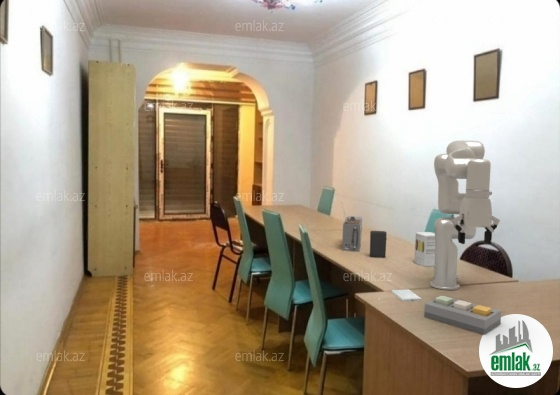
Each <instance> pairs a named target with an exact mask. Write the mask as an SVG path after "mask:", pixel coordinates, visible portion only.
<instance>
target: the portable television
mask: <svg viewBox="0 0 560 395" xmlns="http://www.w3.org/2000/svg"><path fill="white" fill-rule="evenodd" d="M341 205H342V210H343V215H344V218H345V219H344V222H343V223H342V251H345V252H360V251H361V246H362V245H361V244H362V229H363V227H362V226H363V218H362V216H346V212H345V209H344V206H343V203H341Z"/></svg>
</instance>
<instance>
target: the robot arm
mask: <svg viewBox="0 0 560 395" xmlns="http://www.w3.org/2000/svg"><path fill="white" fill-rule="evenodd" d="M485 150H486V149H485V146H484V144H483V142H481V141H479V140H455V141H454V140H453V141H451V142H450V143H448V145H447V147H446V150H445V151H446V152H445V153H440V154H438V155H436V156H435V158H434V161H433V168H434V169H433V170H434V173H435V176H436V179H437V183H438V185H437V186H438V188H437V189H438V191H437V206H438V211H439V212H440V213H441V214H444V215H458V216H456V217H454V216H453V217H452V216H444V217H439V218H436V220H435V221H434V224H433V226H434V229H433V230H434V234H435V265H434V266H433V269H434V270H433V279H432V280H431V281H430V282H429V285H430V286H431V287H432V288H435V289H438V290H444V291H455V290H459V289H460V284H459V283H458V282H457V280H458V279H459V278H460V276H459V275H458V274H457V269H458V253H459V252H458V246H457V245H456V243H455V242H454V241H453V240H457V241H458V243H459V244H461V245H465V244H466V240H471V239H474V238H475V236H476V234H477V228H484V230H485V231H484V232H483V233H484V236H483V237H484V238H483V243H486V244H488V245H490V244H492V237H493V233H494V231H495V230H496V229H497V228H498V226H499V223H500V222H501V220H500V219H499V218H497V217H495V216H493V211H492V210H493V209H492V208H493V207H492V202H491V198H490V196H492V195H493V191H491V190H490V183H491V181H490V180H491V164H492V163H491V161H490V160H488V159H485V158H484V157H485V152H486V151H485ZM458 180H466V181H465V193H464V192H463V193H460V192H459V186H460V185H459V181H458Z"/></svg>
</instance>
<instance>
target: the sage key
mask: <svg viewBox="0 0 560 395" xmlns="http://www.w3.org/2000/svg"><path fill="white" fill-rule="evenodd" d="M449 297H450V296H446V297H445V295H440V296H437V297H435V298H434V299H435V303H438V304H442V305H446V306H449V305H451V304H453V298H454V297H450V298H449Z"/></svg>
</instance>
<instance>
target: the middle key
mask: <svg viewBox="0 0 560 395" xmlns="http://www.w3.org/2000/svg"><path fill="white" fill-rule="evenodd" d="M461 300H462V299H458V301H456V302H454V304H453V308H457V309H461V310H464V311H468V310H470V309H471V306H472V303H473V302H470V303H469V301H466V302H465V300H462V301H461Z"/></svg>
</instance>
